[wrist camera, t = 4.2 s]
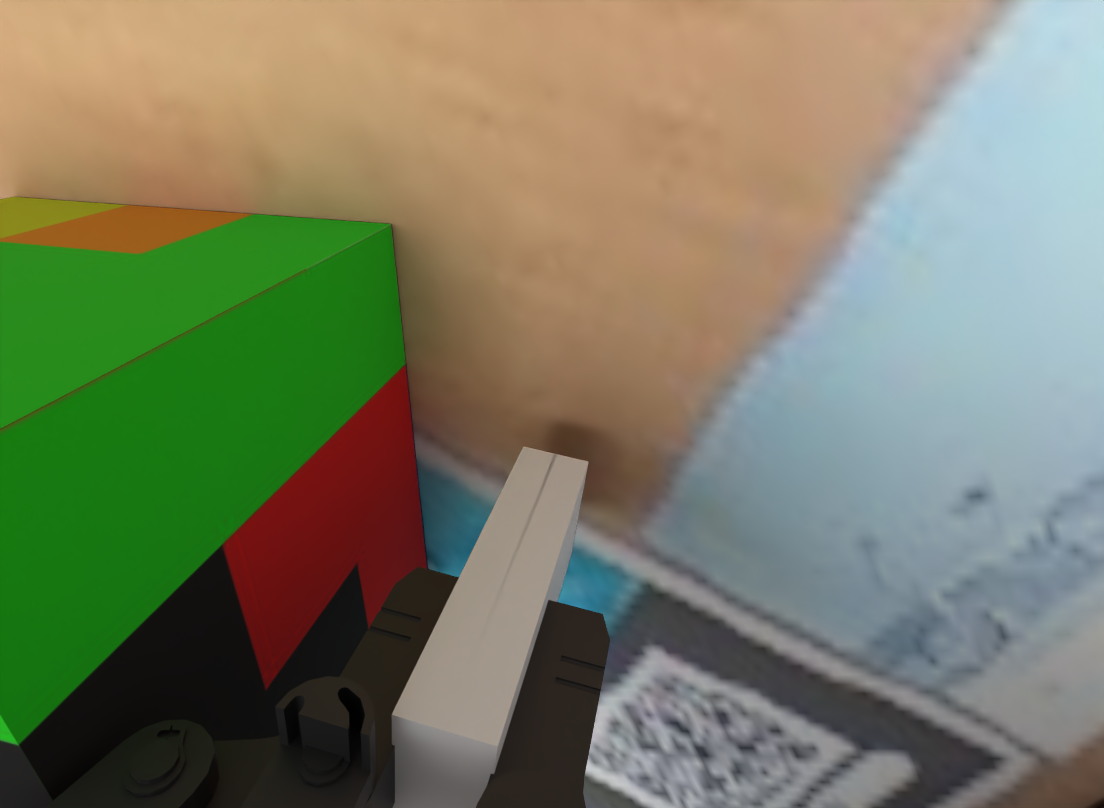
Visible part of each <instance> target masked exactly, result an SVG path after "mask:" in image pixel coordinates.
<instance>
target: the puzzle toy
mask: <svg viewBox="0 0 1104 808" xmlns="http://www.w3.org/2000/svg"><path fill="white" fill-rule="evenodd" d="M417 567H422V568H425V569H427V560H426V550H425V541H424V531H423V522H422V512H421V503H420V493H419V484H418V474H417V465H416V455H415V446H414V436H413V427H412V417H411V408H410V398H409V389H408V379H407V370H406V360H405V351H404V342H403V332H402V323H401V313H400V304H399V294H398V285H397V275H396V266H395V256H394V247H393V237H392V228H391V224H384V223H370V222H356V221H342V220H328V219H314V218H300V217H287V216H273V215H259V214H245V213H231V212H217V211H203V210H189V209H176V208H162V207H148V206H134V205H120V204H106V203H92V202H79V201H65V200H51V199H37V198H23V197H10V198H5V199H0V808H45V807H46V806H48V805H49V804H50V803H51V802H52V801H53V800H55V799H56V798H57V797H58V796H59V795H60V794H62V793H63V792H64V791H65V790H66V789H68V788H69V787H70V786H71V785H72V784H73V783H75V782H76V781H77V780H78V779H79V778H81V777H82V776H83V775H84V774H85V773H86V772H88V771H89V770H90V769H91V768H92V767H93V766H95V765H96V764H97V763H98V762H99V761H101V760H102V759H103V758H104V757H105V756H106V755H108V754H109V753H110V752H111V751H112V750H114V749H115V748H116V747H117V746H118V745H119V744H121V743H122V742H123V741H124V740H126V739H127V738H129V737H130V736H132V735H133V734H135V733H137V732H138V731H140V730H141V729H143V728H144V727H147V726H150V725H153V724H156V723H159V722H162V721H165V720H188V721H191V722H194V723H196V724H199V725H202V726H203V728H204V729H205V730H206V731H207V732H208V734H209V735H210V736H211V737H212V741H226V740H251V739H263V738H270V737H275V736H278V735H279V730H278V723H277V717H276V710H275V706H276V705H277V704H278V703H279V702H280V701H281V700H282V699H283V697H284V696H285V695H286V694H287V693H288V692H289V691H291V690H292V689H294V688H296V687H298V686H299V685H301V684H303V683H305V682H306V681H308V680H313V679H317V678H322V677H326V676H332V677H339V676H340V675H341V673H342V671H343V670H344V668H345V666H346V665H347V663H348V661H349V660H350V658H351V656H352V655H353V653H354V651H355V650H356V648H357V646H358V645H359V643H360V641H361V640H362V638H363V636H364V635H365V633H366V631H368V630H369V628H370V625H371V623H372V621H373V620H374V618H375V617H376V615H377V613H378V612H380V610H381V607H382V605H383V603H384V602H385V600H386V598H387V597H388V595H389V593H390V592H391V590H392V588H393V587H394V585H395V584H396V583H397V582H398V581H400V580H401V579H402V578H403V577H405V576H406V575H407V574H409V573H410V572H411V571H413V570H414V569H415V568H417Z"/></svg>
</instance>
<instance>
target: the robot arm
mask: <svg viewBox="0 0 1104 808" xmlns="http://www.w3.org/2000/svg"><path fill="white" fill-rule="evenodd" d="M588 463H589V462H588V461H584V460H579V459H575V458H571V457H567V456H562V455H558V454H554V453H550V452H545V451H541V450H537V449H533V448H528V447H524V446H523V448H522V450H521V452H520V454H519V456H518V458H517V461H516V463H515V465H514V467H513V469H512V471H511V473H510V475H509V477H508V479H507V481H506V483H505V485H504V487H503V489H502V491H501V493H500V495H499V497H498V499H497V501H496V503H495V505H494V507H493V509H492V511H491V513H490V515H489V517H488V520H487V522H486V524H485V526H484V528H483V530H482V532H481V534H480V536H479V538H478V540H477V542H476V544H475V546H474V548H473V550H472V552H471V554H470V556H469V558H468V560H467V562H466V564H465V566H464V568H463V570H462V572H461V574H460V576H459V577H455V576H451V575H448V574H444V573H440V572H436V571H433V570H429V569H425V568H422V567H417V568H415V569H414V570H413V571H411V572H410V573H409V574H407V575H406V576H405V577H403V578H402V579H401V580H400V581H398V582H397V583H396V584H395V585H394V587H393V588H392V590H391V592H390V593H389V595H388V597H387V598H386V600H385V602H384V603H383V605H382V607H381V610H380V612H378V613H377V615H376V617H375V618H374V620H373V621H372V623H371V625H370V628H369V630H368V631H366V633H365V635H364V636H363V638H362V640H361V641H360V643H359V645H358V646H357V648H356V650H355V651H354V653H353V655H352V656H351V658H350V660H349V661H348V663H347V665H346V666H345V668H344V670H343V671H342V673H341V675H340V676H339V677H332V676H326V677H322V678H317V679H313V680H308V681H306V682H305V683H303V684H301V685H299V686H298V687H296V688H294V689H292V690H291V691H289V692H288V693H287V694H286V695H285V696H284V697H283V699H282V700H281V701H280V702H279V703H278V704H277V705H276V706H275V710H276V717H277V723H278V730H279V735H278V736H275V737H270V738H263V739H251V740H226V741H212V737H211V736H210V735H209V734H208V732H207V731H206V730H205V729H204V728H203V726H202V725H199V724H196V723H194V722H191V721H188V720H165V721H162V722H159V723H156V724H153V725H150V726H147V727H144V728H143V729H141V730H140V731H138V732H137V733H135V734H133V735H132V736H130V737H129V738H127V739H126V740H124V741H123V742H122V743H121V744H119V745H118V746H117V747H116V748H115V749H114V750H112V751H111V752H110V753H109V754H108V755H106V756H105V757H104V758H103V759H102V760H101V761H99V762H98V763H97V764H96V765H95V766H93V767H92V768H91V769H90V770H89V771H88V772H86V773H85V774H84V775H83V776H82V777H81V778H79V779H78V780H77V781H76V782H75V783H73V784H72V785H71V786H70V787H69V788H68V789H66V790H65V791H64V792H63V793H62V794H60V795H59V796H58V797H57V798H56V799H55V800H53V801H52V802H51V803H50V804H49V805H48V806H46V807H45V808H586V807H585V801H584V795H583V786H584V775H585V770H586V765H587V759H588V754H589V749H590V744H591V738H592V733H593V728H594V722H595V717H596V712H597V707H598V701H599V696H600V690H601V685H602V680H603V675H604V669H605V664H606V659H607V654H608V649H609V643H610V639H609V635H608V631H607V628H606V624H605V620H604V617H603V614H600V613H596V612H592V611H589V610H585V609H581V608H578V607H574V606H570V605H566V604H563V603H559V602H558V598H559V595H560V591H561V588H562V585H563V581H564V578H565V575H566V571H567V568H568V564H569V561H570V558H571V554H572V548H573V543H574V538H575V532H576V527H577V522H578V516H579V511H580V505H581V500H582V495H583V489H584V484H585V479H586V473H587V468H588ZM1102 808H1104V807H1102Z"/></svg>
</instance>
